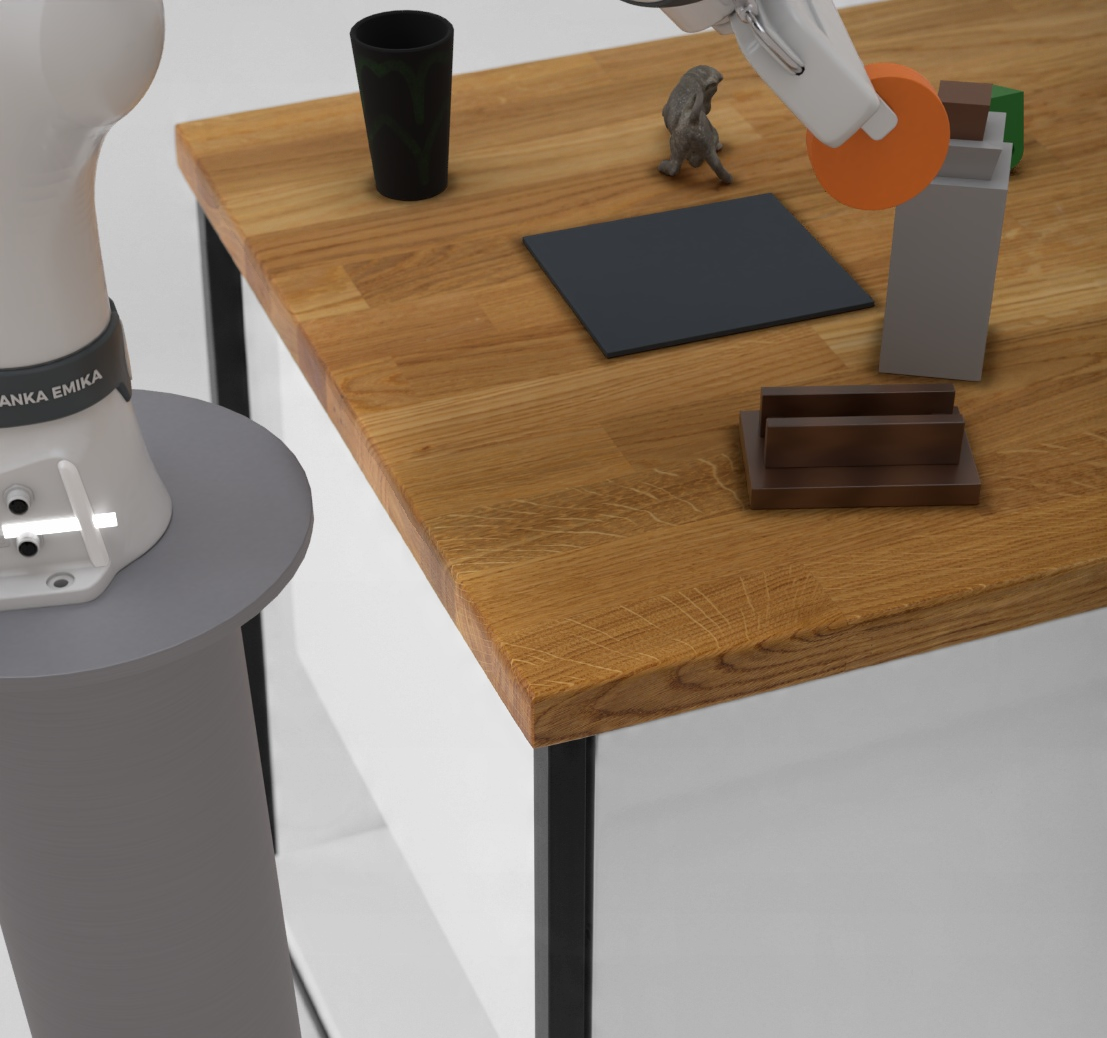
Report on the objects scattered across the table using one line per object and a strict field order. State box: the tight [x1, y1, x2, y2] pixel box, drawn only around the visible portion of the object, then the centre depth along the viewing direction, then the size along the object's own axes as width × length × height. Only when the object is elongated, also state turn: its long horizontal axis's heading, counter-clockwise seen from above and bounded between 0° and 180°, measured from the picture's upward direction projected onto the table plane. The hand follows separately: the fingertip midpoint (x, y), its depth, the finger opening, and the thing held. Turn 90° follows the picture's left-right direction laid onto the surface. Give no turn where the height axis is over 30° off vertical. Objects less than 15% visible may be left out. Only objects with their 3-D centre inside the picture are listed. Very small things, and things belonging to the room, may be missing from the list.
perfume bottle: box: [878, 79, 1013, 382], centre depth 134 cm, size 7×7×18 cm
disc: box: [805, 62, 950, 211], centre depth 119 cm, size 8×2×8 cm, turn 94°
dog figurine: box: [657, 64, 734, 184], centre depth 159 cm, size 12×6×7 cm, turn 178°
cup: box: [348, 9, 455, 201], centre depth 155 cm, size 8×8×12 cm
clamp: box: [989, 83, 1025, 170], centre depth 158 cm, size 12×6×9 cm, turn 107°
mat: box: [521, 192, 876, 359], centre depth 148 cm, size 20×18×1 cm
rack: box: [738, 382, 982, 510], centre depth 128 cm, size 14×9×4 cm, turn 91°
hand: (880, 115), depth 118 cm, fingers closed on disc, 2 cm apart
